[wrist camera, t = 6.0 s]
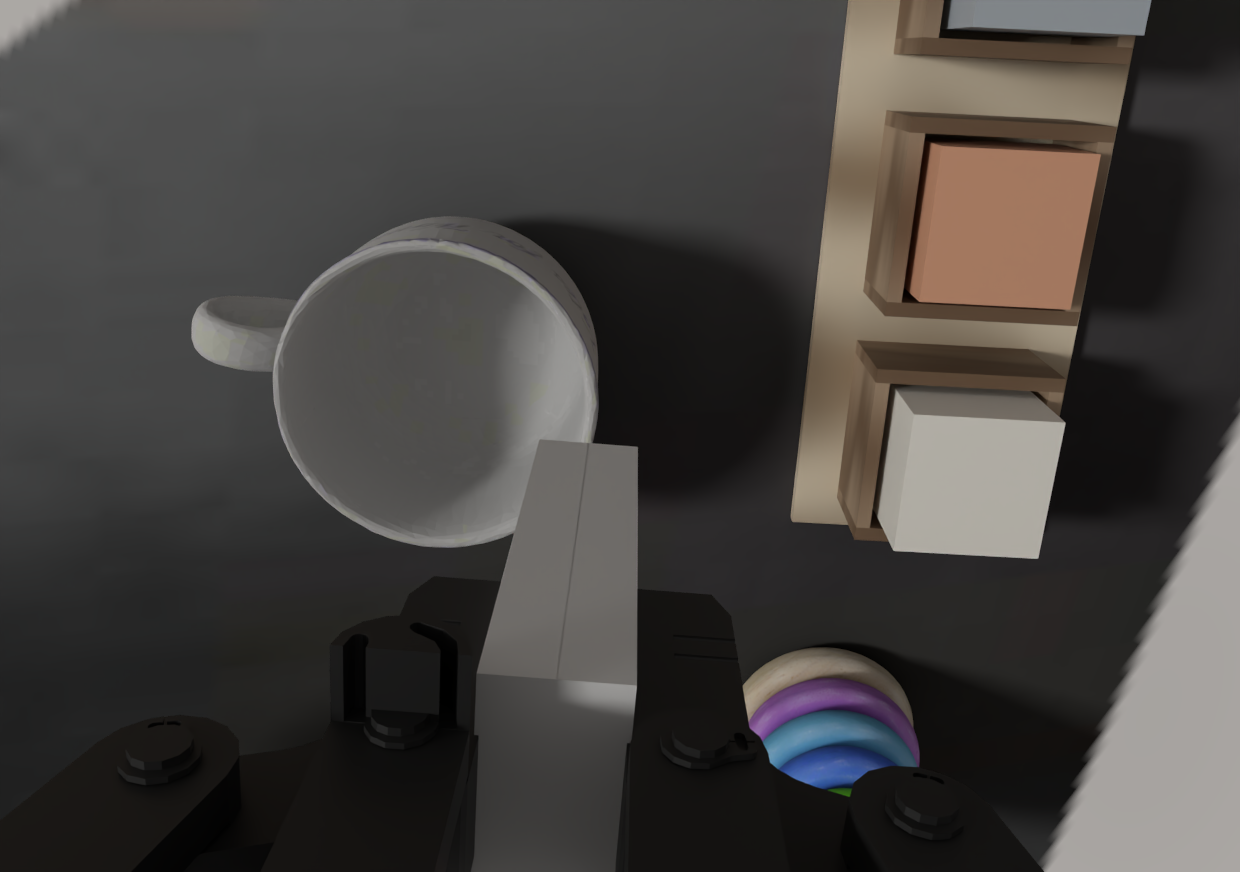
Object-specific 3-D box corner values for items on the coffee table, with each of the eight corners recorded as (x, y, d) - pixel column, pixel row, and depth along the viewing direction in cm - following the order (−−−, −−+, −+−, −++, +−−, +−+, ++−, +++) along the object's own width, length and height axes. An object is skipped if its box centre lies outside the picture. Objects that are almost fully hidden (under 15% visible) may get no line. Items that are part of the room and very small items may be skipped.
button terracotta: (1029, 285, 39) (1070, 309, 35) (893, 277, 39) (919, 301, 35) (1055, 144, 37) (1101, 154, 33) (912, 136, 37) (941, 146, 33)
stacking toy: (781, 610, 45) (863, 962, 28) (941, 682, 46) (1117, 1067, 29) (697, 747, 48) (722, 1150, 30) (850, 813, 49) (961, 1240, 31)
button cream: (1002, 511, 40) (1038, 558, 37) (870, 504, 40) (893, 550, 37) (1025, 386, 39) (1065, 422, 35) (888, 379, 39) (913, 414, 35)
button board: (1031, 529, 44) (1072, 580, 40) (790, 516, 44) (805, 566, 40) (1173, -184, 35) (1245, -217, 31) (870, -199, 35) (900, -233, 31)
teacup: (653, 279, 41) (653, 330, 33) (539, 510, 44) (515, 603, 37) (315, 116, 39) (235, 131, 32) (223, 369, 42) (131, 437, 35)
